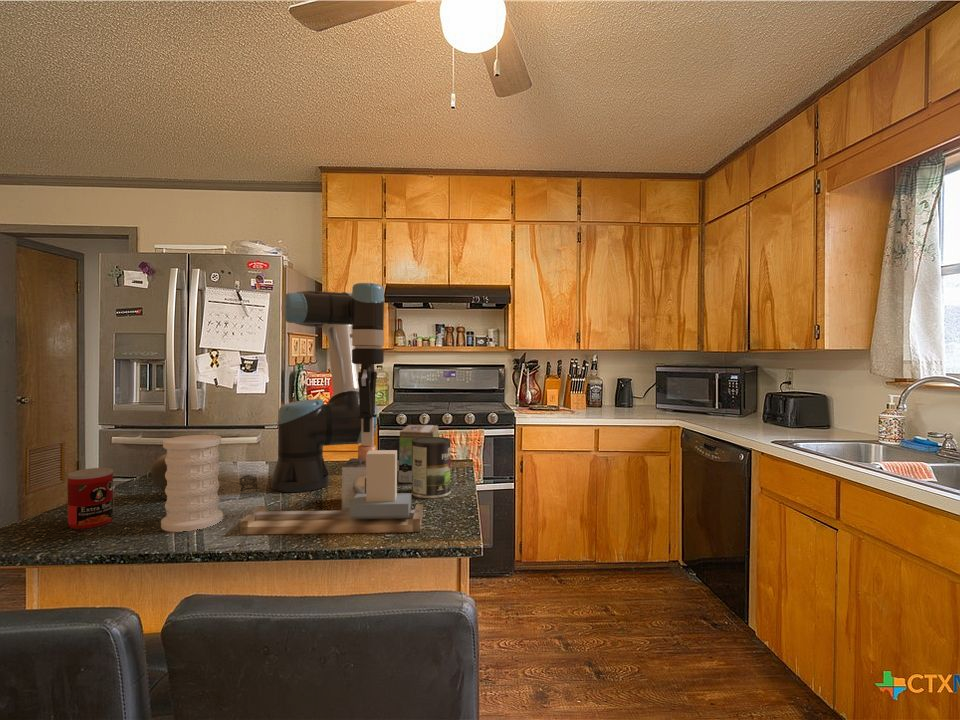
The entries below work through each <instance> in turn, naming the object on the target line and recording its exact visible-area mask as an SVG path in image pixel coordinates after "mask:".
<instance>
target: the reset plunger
mask: <svg viewBox="0 0 960 720" xmlns="http://www.w3.org/2000/svg"><path fill="white" fill-rule="evenodd" d="M369 450H378V449H377V445H375V444H373V445H368V446H361V444H360V445H358V446H357V458H358V460H364V464H366V454H367V452H368V451H369Z"/></svg>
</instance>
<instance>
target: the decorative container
mask: <svg viewBox="0 0 960 720" xmlns="http://www.w3.org/2000/svg"><path fill="white" fill-rule="evenodd" d="M221 444H222V436H221V435H215V434H214V435H213V434H193V435H183V436H181V435H180V436H174V437H170V438H166V439H163V440H162V448H163V449H164V450H166V454H167V456H166V458H165V462H166V465H167V471H166V473H165V478H166V480H167V486H166V488H165V493H166V495H167V499H166V501H165V504H164V509H165V510H166V516H164V517H163V518H161V521H160V528H161V529H162V530H163V531H165V532H170V533H184V532H183V531H187V532H193V530H195V531H199V529H200V530H204V529H207V527H208V528H211V527H213V525H214V526H215V524H216V525H218V524H220V523H221V522H222V521H223V520H224V512H223V510H220V509H219V507H218V506H219V503H220V495H219V489H220V481H219V480H218V479H219V478H218V475H219V474H220V467H219V465H218V463H219V462H218V461H219V459H220V453H219V451H218V448H219V447H218V446H220V445H221ZM222 519H223V520H222ZM220 521H221V522H220ZM219 522H220V523H219ZM217 523H218V524H217ZM210 526H211V527H210ZM203 528H204V529H203ZM197 529H198V530H197Z"/></svg>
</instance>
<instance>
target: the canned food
mask: <svg viewBox="0 0 960 720" xmlns="http://www.w3.org/2000/svg"><path fill="white" fill-rule="evenodd" d="M113 517H114V470H113V468H110V467H93V468H84V469H78V470H75V471H72V472H69V473H68V474H67V524H68V527H69V528H71V529H74V530H83V529H84V530H85V529H86V530H87V529H92V528H97V527H98V528H99V527H101V526H104V525H107V524H109V523H110V522H112V520H113Z"/></svg>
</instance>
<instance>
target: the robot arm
mask: <svg viewBox="0 0 960 720" xmlns="http://www.w3.org/2000/svg"><path fill="white" fill-rule="evenodd" d="M351 290H352V291H351V292H346V291H342V292H334V291H318V290H303V291H296V292H288V293H285V295H284V299H283V300H282V303H281V313H282V315H283V317H284V321H285V322H286V323H290V324H294V325H295V324H296V325H299V326H303V327H309V328H310V327H313V328H321V331H322V333H323V334H324V336H326V337H327V343H328V353H329V354H328V355H329V363H330V373H331V376H330V377H331V386H332V394H333V395H332V396H331V397H330V398H329V400H328V403H324V401H323V399H321V398H313V399H312V398H311V399H303V400H297V401H291V402H288V403H285V404H283V405H281V406H280V407H279V409H278V416H277V417H278V419H277V422H276V423H277V425H278V428H277V429H278V431H277V432H278V433H277V434H278V435H277V436H278V437H277V439H278V440H277V441H278V442H277V445H278V446H277V461H276V463H275V467H274V468H273V473H272V476H271V480H270V488H271V490H274V491H276V492H283V493H300V492H302V493H303V492H310V491H315V490H319V489H323V488H325V487H327V486H328V485H329V484H330V474H329V471H328V468H327V465H326V461H325V459H324V455H323V454H324V453H323V451H324V449H323V448H324V447H325V446H326V447H327V446H338V445H339V446H343V445H359V444H360V445H361V446H368V445H375V444H374V441H375V440H374V437H375V434H376V430H377V423H378V421H377V420H378V406H377V403H376V394H377V393H376V392H377V391H376V390H377V379H378V372H377V371H375V365H382V364H383V363H384V358H385V357H384V354H385V353H384V352H385V351H384V349H383V348H382V347H384V346H385V330H384V328H385V327H384V324H385V323H384V318H385V317H384V316H385V300H386V299H385V295H384V293H385V292H384V287H383V285H382V284H380V283H372V282H357V283H354V284H353V286H352V289H351Z"/></svg>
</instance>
